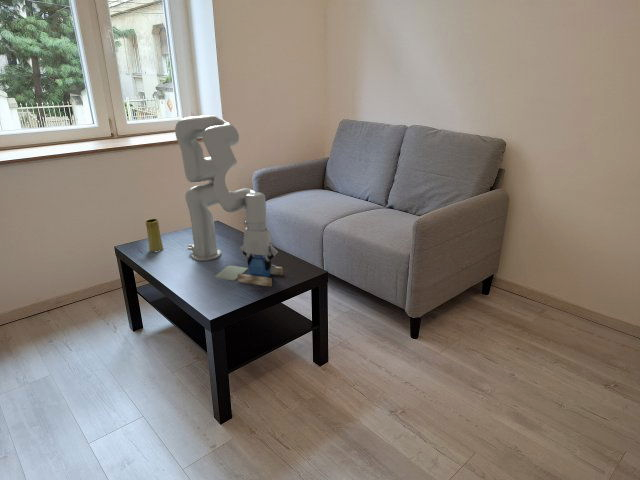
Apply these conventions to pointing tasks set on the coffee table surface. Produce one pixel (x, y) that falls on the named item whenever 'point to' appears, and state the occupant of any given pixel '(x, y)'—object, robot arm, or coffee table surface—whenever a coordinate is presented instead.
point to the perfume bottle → (258, 267)
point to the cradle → (258, 279)
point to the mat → (231, 272)
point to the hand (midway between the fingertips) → (259, 267)
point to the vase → (154, 235)
